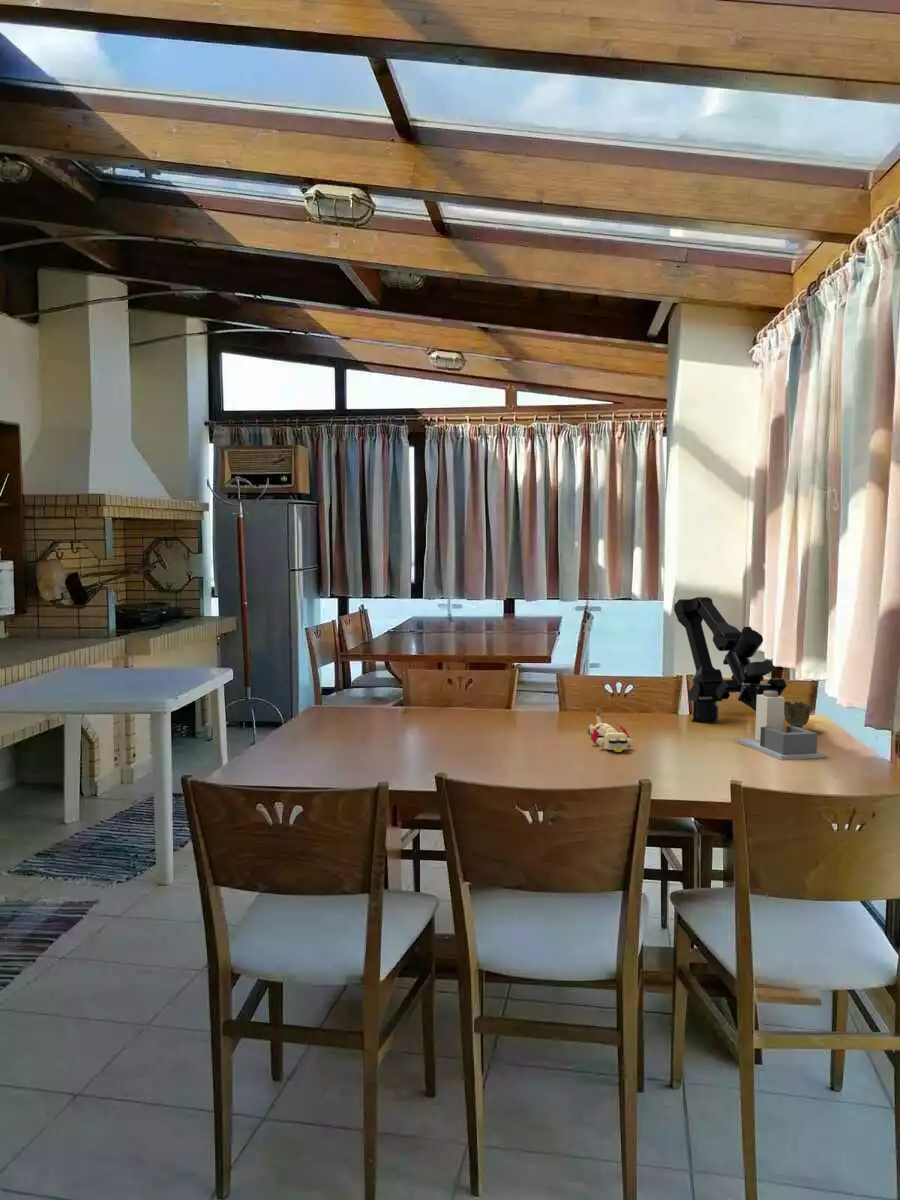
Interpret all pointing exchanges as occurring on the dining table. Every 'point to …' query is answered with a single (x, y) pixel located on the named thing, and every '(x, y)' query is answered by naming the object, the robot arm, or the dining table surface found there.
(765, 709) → the beige block
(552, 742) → the dining table surface
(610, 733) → the cream blocky figure
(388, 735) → the dining table surface
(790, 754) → the socket
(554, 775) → the dining table surface
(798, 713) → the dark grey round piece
